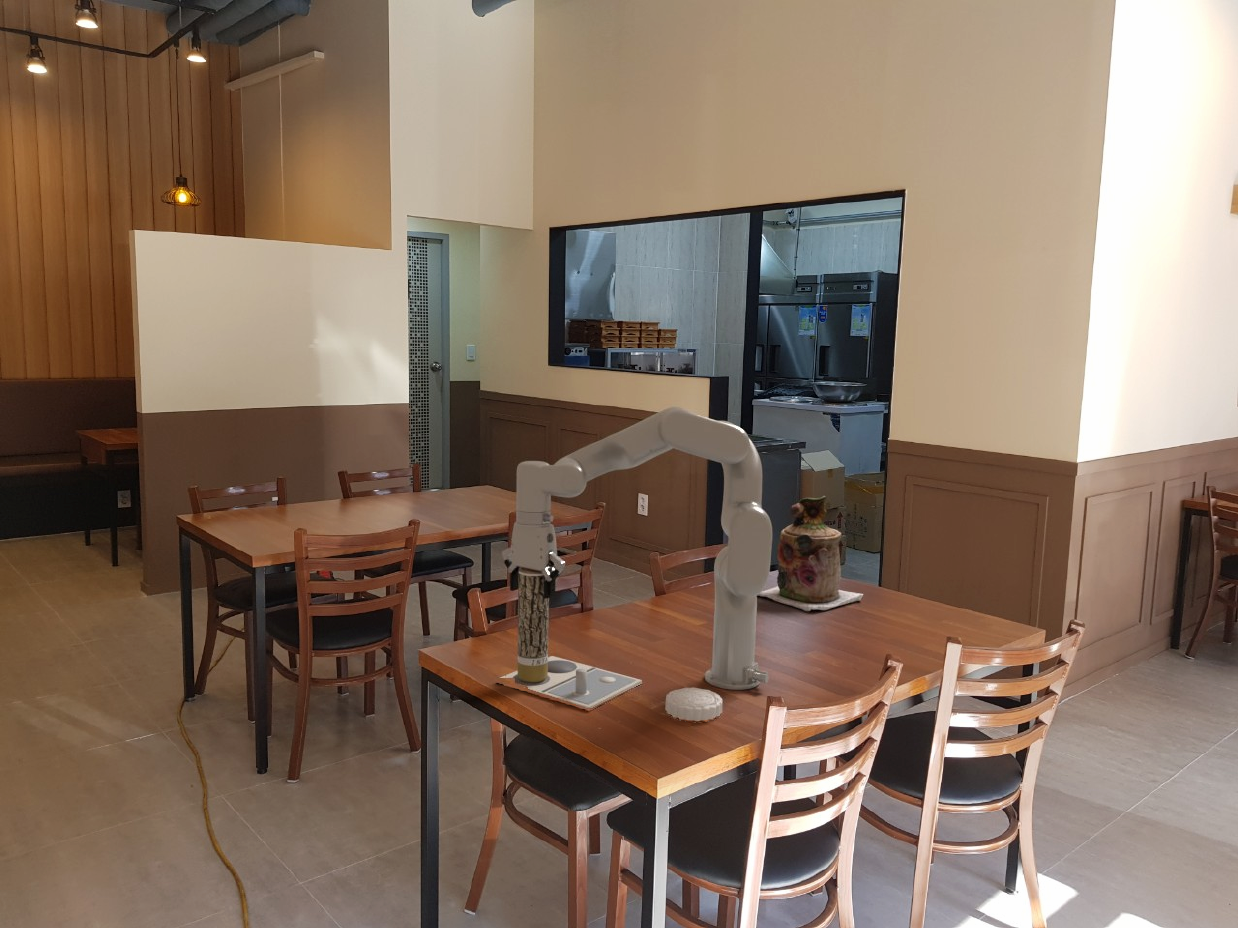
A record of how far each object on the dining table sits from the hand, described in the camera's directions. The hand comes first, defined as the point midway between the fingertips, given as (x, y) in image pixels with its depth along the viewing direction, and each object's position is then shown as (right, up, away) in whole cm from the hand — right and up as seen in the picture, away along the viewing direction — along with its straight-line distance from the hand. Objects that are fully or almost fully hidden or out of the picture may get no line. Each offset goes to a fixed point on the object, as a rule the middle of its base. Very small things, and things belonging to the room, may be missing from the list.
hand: (532, 593), depth 213 cm
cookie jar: (+77, -12, +79) cm, 110 cm away
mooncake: (+35, -24, -11) cm, 44 cm away
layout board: (+8, -21, +3) cm, 23 cm away
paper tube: (0, -20, +3) cm, 20 cm away
